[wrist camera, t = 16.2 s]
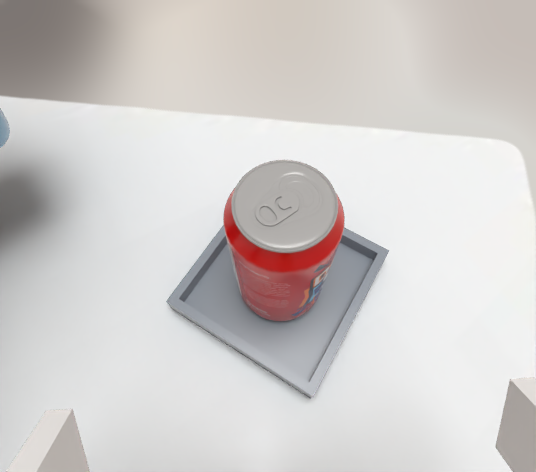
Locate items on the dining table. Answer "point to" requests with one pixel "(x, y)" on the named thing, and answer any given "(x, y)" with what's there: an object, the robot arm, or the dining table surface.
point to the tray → (280, 332)
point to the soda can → (282, 237)
